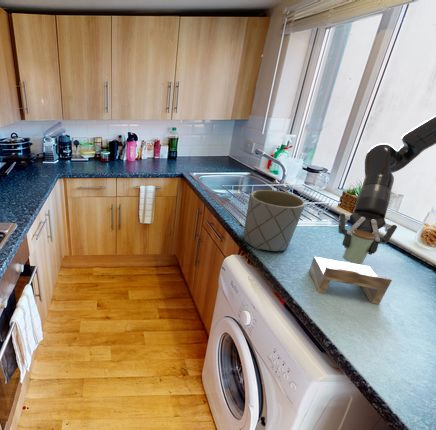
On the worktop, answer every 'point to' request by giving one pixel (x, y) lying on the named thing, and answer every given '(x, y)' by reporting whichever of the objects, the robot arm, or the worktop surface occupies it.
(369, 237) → the jar
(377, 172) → the robot arm
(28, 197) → the worktop surface
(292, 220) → the planter
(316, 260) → the wooden riser stand
